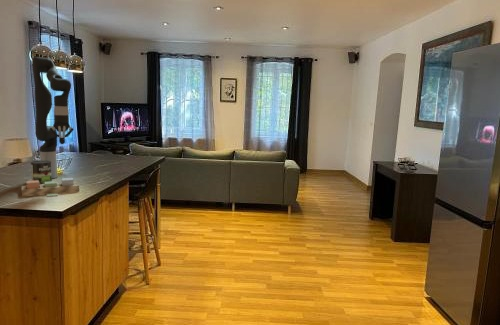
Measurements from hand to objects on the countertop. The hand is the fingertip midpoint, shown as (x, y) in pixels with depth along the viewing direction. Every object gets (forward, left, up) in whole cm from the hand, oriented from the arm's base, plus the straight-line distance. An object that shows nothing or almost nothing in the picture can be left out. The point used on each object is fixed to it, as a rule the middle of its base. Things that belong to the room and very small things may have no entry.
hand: (62, 144), depth 213 cm
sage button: (+4, -15, -24) cm, 28 cm away
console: (+4, -15, -25) cm, 29 cm away
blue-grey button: (+10, -9, -22) cm, 26 cm away
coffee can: (-12, -4, -25) cm, 28 cm away
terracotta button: (-2, -21, -22) cm, 30 cm away
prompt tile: (+10, -21, -25) cm, 34 cm away
